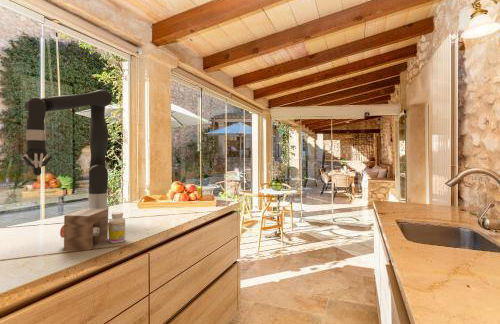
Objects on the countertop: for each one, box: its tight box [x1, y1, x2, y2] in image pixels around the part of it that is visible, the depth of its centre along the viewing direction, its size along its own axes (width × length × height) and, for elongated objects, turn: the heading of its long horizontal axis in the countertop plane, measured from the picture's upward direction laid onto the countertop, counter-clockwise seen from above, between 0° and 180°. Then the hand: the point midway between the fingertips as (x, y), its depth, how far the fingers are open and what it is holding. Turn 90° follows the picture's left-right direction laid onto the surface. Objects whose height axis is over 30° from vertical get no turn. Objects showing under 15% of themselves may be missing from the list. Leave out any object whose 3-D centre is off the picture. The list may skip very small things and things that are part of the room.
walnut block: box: [63, 207, 109, 251], centre depth 122 cm, size 12×16×14 cm
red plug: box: [59, 224, 100, 239], centre depth 120 cm, size 14×6×6 cm, turn 92°
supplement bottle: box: [108, 211, 126, 244], centre depth 127 cm, size 7×7×13 cm
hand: (37, 175), depth 136 cm, fingers closed
